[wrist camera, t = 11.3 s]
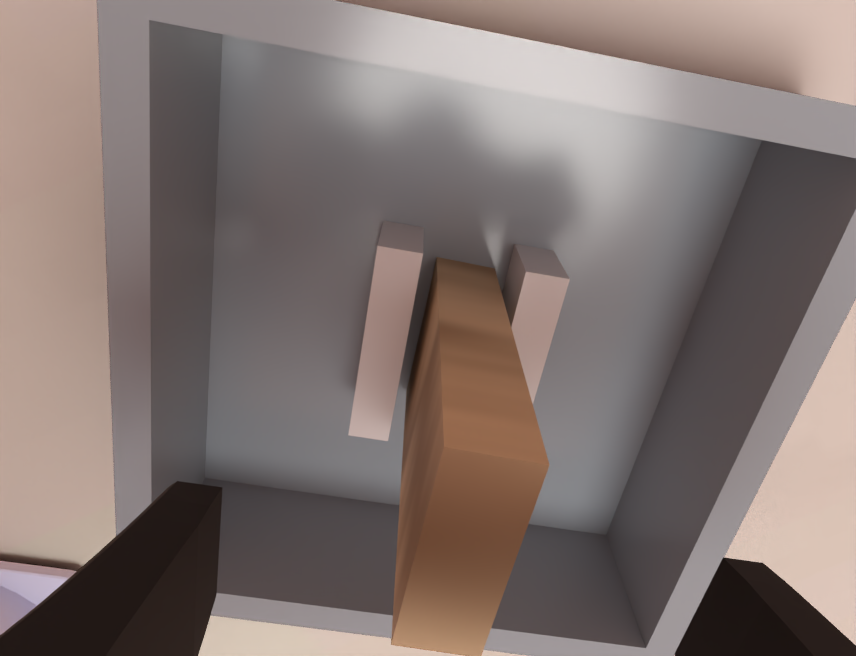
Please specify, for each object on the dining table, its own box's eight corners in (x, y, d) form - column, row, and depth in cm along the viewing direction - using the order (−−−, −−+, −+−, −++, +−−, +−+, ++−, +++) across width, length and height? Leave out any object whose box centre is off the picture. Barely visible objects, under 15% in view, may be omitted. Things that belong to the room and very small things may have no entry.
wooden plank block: (458, 400, 18) (480, 657, 10) (406, 391, 18) (391, 645, 10) (494, 268, 16) (549, 464, 9) (436, 256, 16) (444, 446, 9)
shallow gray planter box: (618, 546, 21) (665, 672, 17) (183, 484, 20) (119, 603, 16) (802, 97, 15) (944, 123, 11) (193, -26, 14) (95, -49, 10)
